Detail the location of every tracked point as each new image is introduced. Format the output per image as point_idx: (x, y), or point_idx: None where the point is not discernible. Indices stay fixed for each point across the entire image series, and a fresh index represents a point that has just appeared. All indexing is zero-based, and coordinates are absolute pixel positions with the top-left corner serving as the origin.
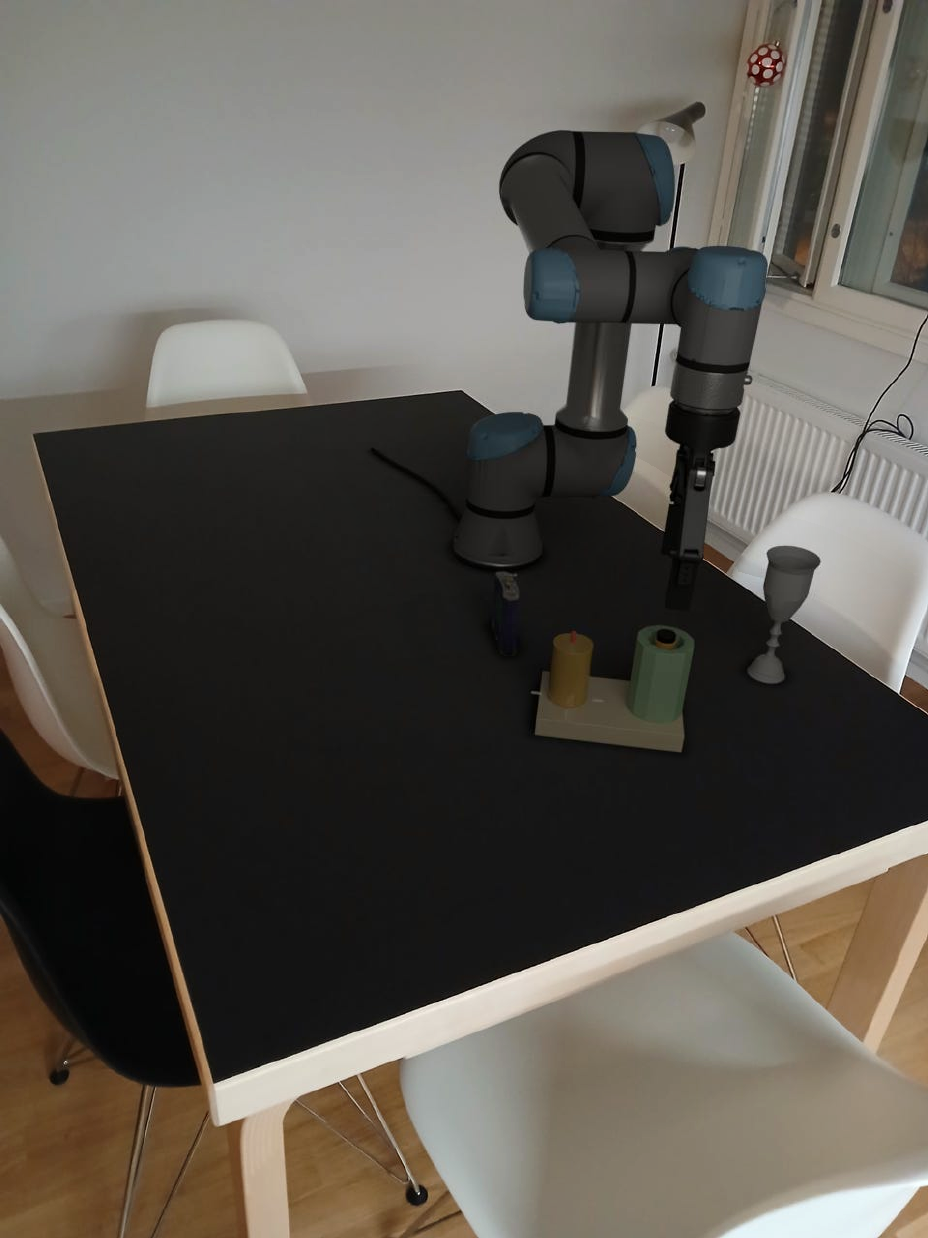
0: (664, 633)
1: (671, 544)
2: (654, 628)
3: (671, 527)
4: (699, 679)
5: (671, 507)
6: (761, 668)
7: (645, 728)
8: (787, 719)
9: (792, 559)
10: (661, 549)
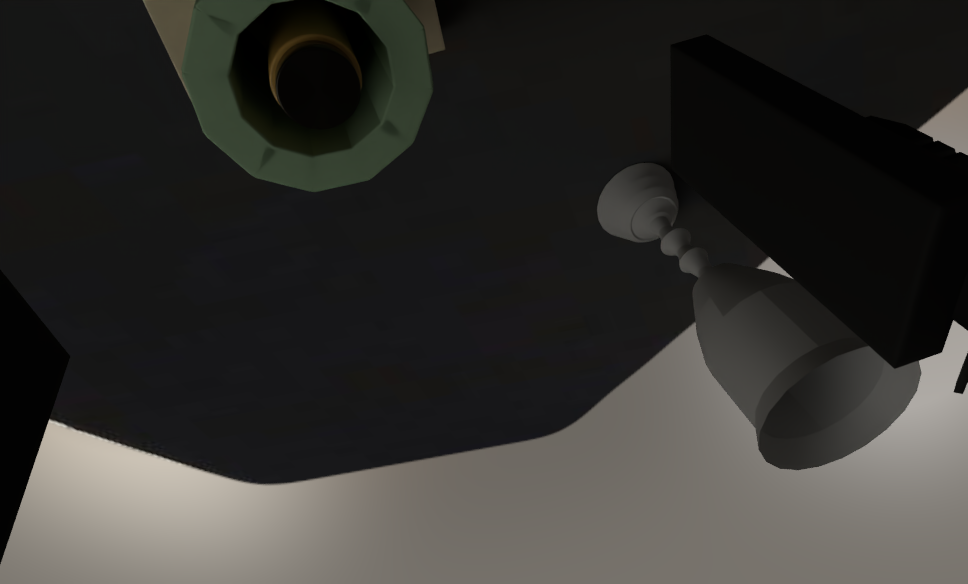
0: (314, 82)
1: (710, 123)
2: (384, 13)
3: (788, 158)
4: (566, 66)
5: (924, 220)
6: (624, 205)
7: (162, 3)
8: (471, 273)
9: (871, 371)
10: (715, 39)
